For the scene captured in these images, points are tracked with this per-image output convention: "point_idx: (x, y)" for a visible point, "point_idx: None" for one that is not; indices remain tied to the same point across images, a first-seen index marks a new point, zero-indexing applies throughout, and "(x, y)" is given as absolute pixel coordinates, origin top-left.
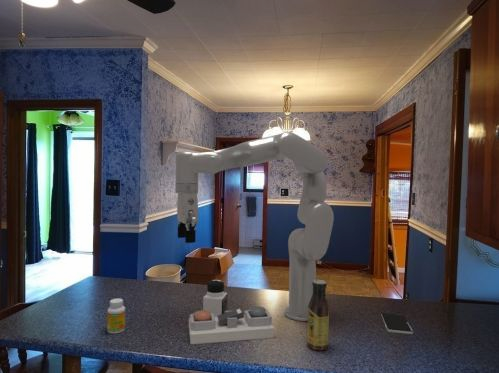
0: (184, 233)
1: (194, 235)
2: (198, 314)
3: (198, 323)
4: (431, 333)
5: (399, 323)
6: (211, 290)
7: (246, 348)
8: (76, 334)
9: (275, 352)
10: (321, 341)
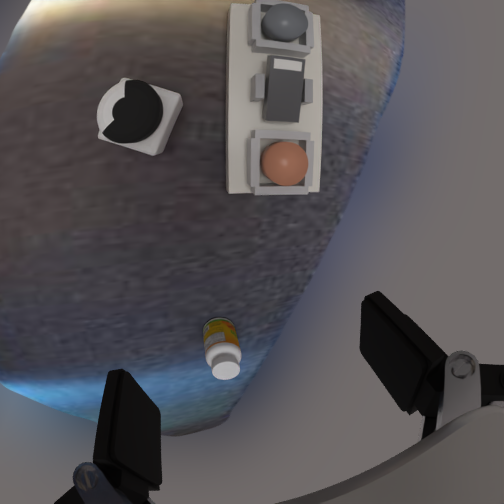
0: (134, 410)
1: (411, 329)
2: (296, 176)
3: (311, 176)
4: None
5: None
6: (156, 127)
7: (344, 86)
8: None
9: (363, 48)
10: None
